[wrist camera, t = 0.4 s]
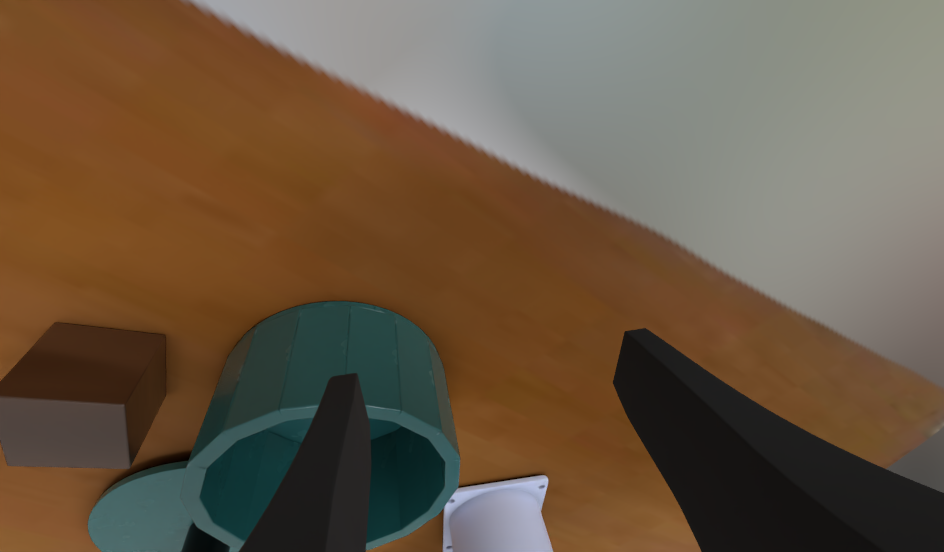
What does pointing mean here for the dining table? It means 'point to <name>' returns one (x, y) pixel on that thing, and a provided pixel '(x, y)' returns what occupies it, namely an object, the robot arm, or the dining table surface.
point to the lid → (149, 515)
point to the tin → (295, 404)
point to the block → (82, 398)
